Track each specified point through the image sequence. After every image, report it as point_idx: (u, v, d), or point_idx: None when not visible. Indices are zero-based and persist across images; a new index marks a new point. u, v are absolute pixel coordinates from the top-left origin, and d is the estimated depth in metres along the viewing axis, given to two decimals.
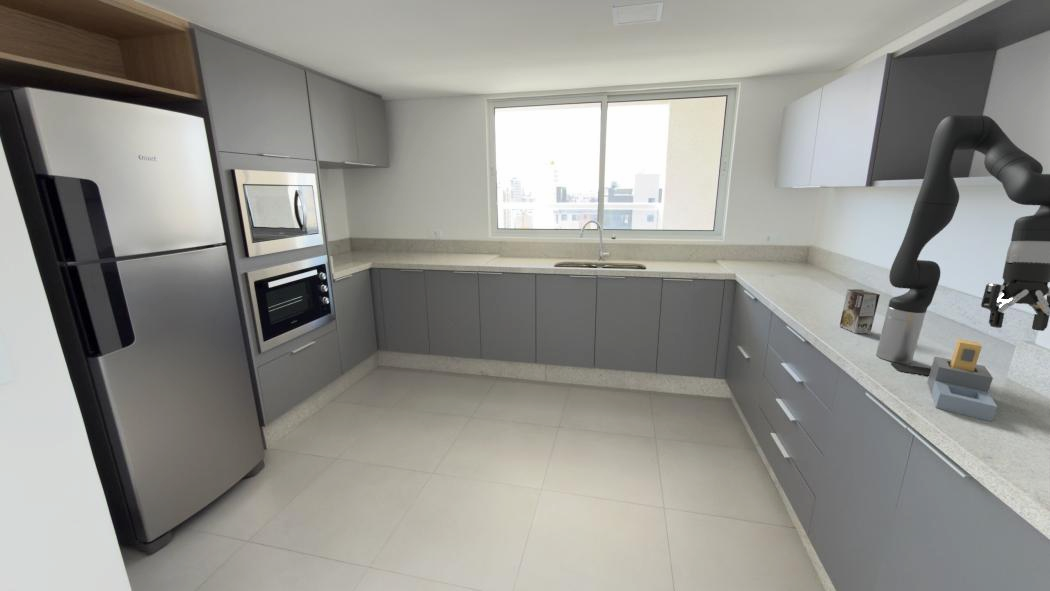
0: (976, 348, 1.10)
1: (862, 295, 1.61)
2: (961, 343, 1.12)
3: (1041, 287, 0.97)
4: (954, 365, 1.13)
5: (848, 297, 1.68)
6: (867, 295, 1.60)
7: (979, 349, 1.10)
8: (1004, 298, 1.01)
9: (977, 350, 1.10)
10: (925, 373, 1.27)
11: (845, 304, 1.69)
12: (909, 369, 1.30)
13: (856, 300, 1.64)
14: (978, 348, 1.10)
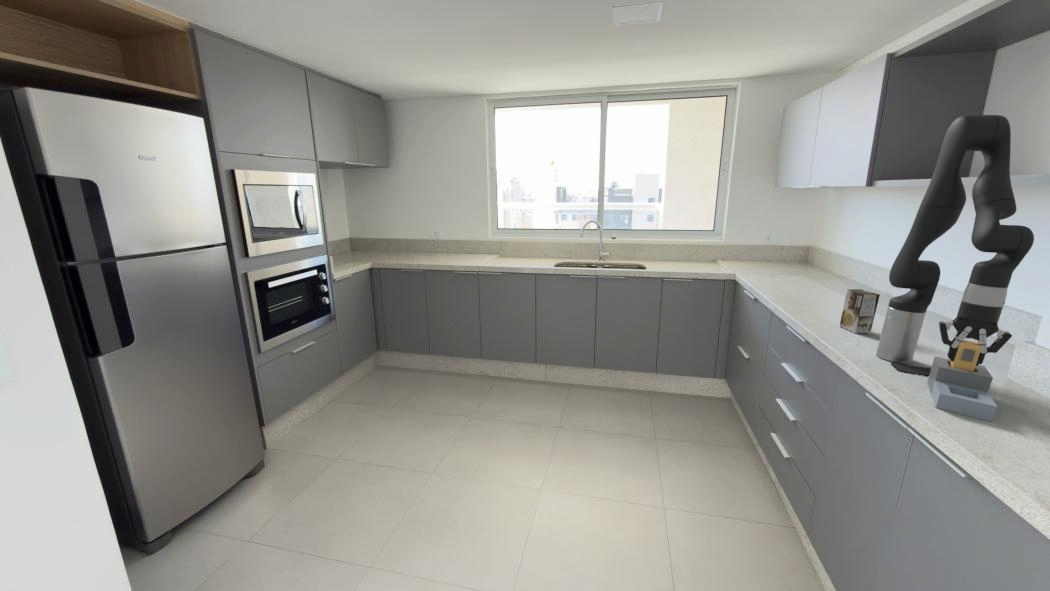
0: (976, 348, 1.10)
1: (862, 295, 1.61)
2: (961, 343, 1.12)
3: (991, 325, 1.08)
4: (954, 365, 1.13)
5: (848, 297, 1.68)
6: (867, 295, 1.60)
7: (979, 349, 1.10)
8: None
9: (977, 350, 1.10)
10: (925, 373, 1.27)
11: (845, 304, 1.69)
12: (910, 369, 1.30)
13: (856, 300, 1.64)
14: (978, 348, 1.10)
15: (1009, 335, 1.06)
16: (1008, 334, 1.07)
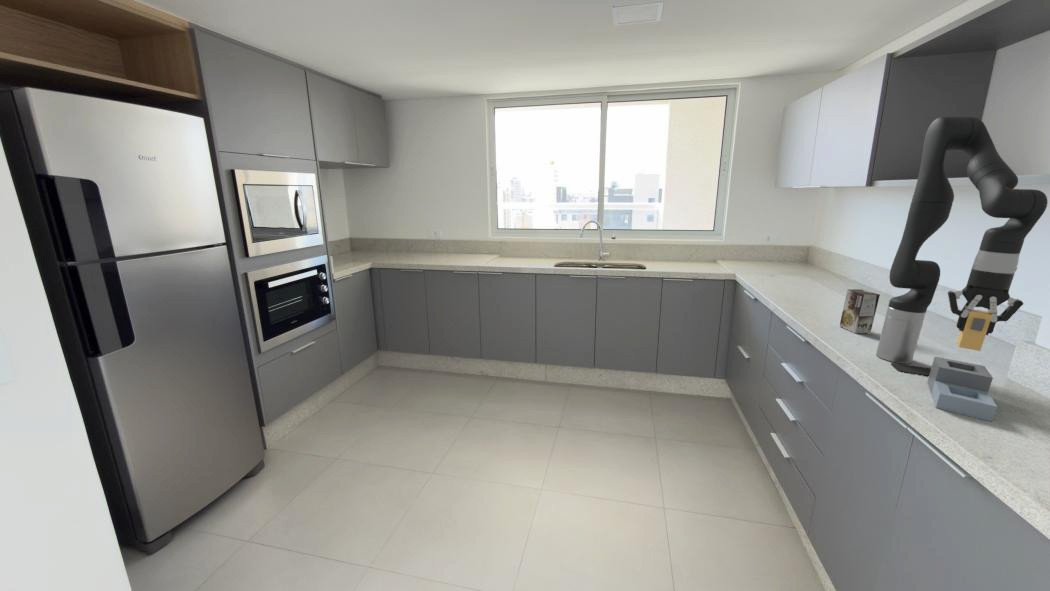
0: (986, 317, 1.08)
1: (862, 295, 1.61)
2: (971, 312, 1.10)
3: (1002, 293, 1.06)
4: (963, 335, 1.11)
5: (848, 297, 1.68)
6: (867, 295, 1.60)
7: (989, 318, 1.08)
8: None
9: (987, 319, 1.08)
10: (925, 373, 1.27)
11: (845, 304, 1.69)
12: (909, 369, 1.30)
13: (856, 300, 1.64)
14: (988, 317, 1.08)
15: (1020, 302, 1.04)
16: (1019, 301, 1.04)
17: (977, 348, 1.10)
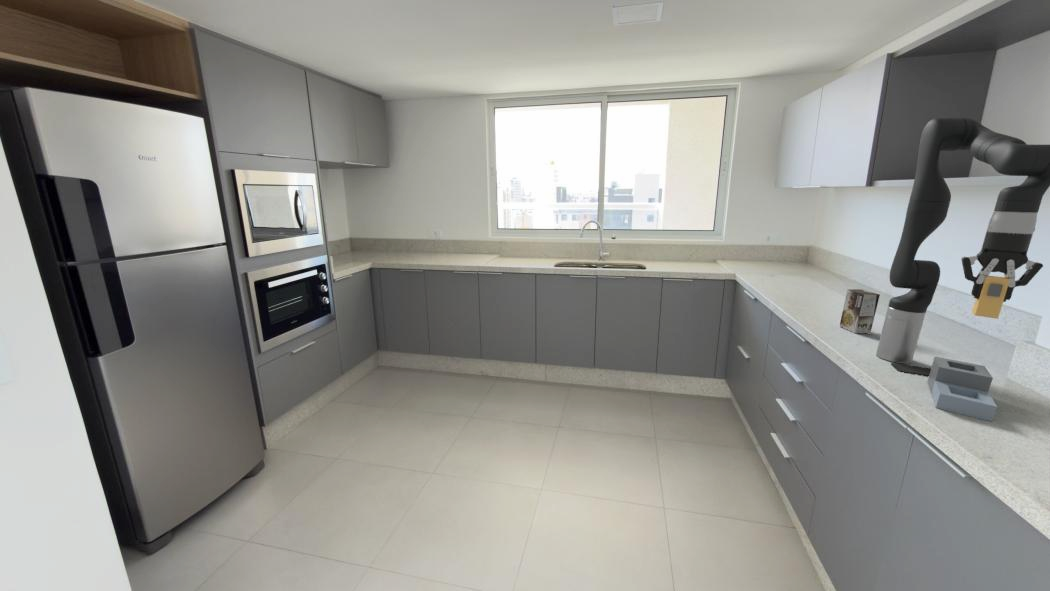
0: (1003, 281, 1.02)
1: (862, 295, 1.61)
2: (987, 277, 1.04)
3: (1019, 256, 1.00)
4: (979, 302, 1.05)
5: (848, 297, 1.68)
6: (867, 295, 1.60)
7: (1007, 282, 1.02)
8: None
9: (1005, 284, 1.02)
10: (925, 373, 1.27)
11: (845, 304, 1.69)
12: (910, 369, 1.30)
13: (856, 300, 1.64)
14: (1006, 281, 1.02)
15: (1040, 265, 0.98)
16: (1039, 264, 0.99)
17: (994, 316, 1.04)
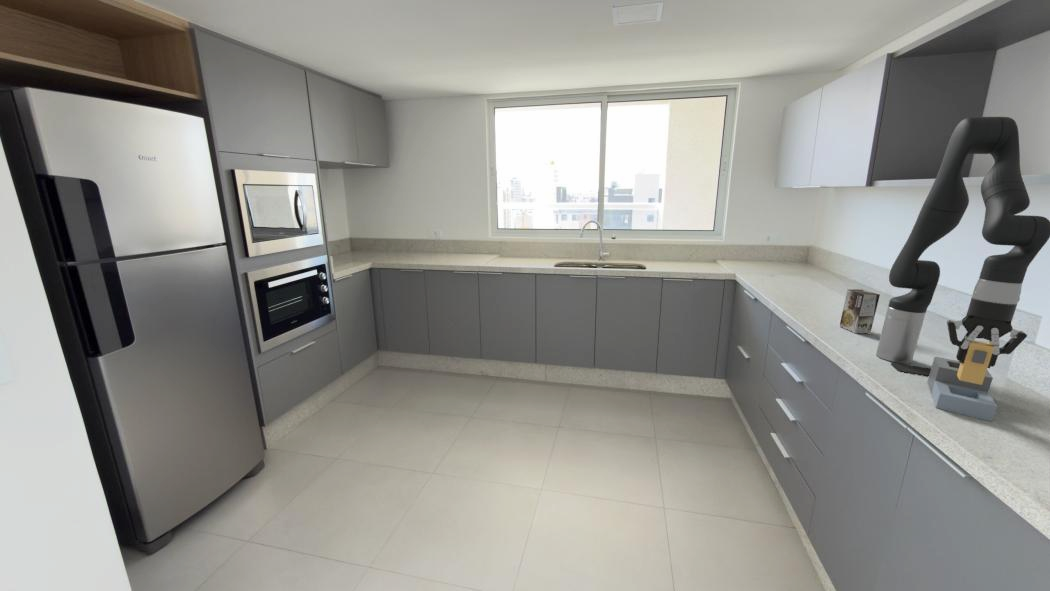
0: (988, 349, 1.02)
1: (862, 295, 1.61)
2: (971, 344, 1.03)
3: (1004, 324, 1.00)
4: (964, 367, 1.05)
5: (848, 297, 1.68)
6: (867, 295, 1.60)
7: (991, 350, 1.01)
8: None
9: (989, 351, 1.02)
10: (925, 373, 1.27)
11: (845, 304, 1.69)
12: (910, 369, 1.30)
13: (856, 300, 1.64)
14: (990, 349, 1.01)
15: (1024, 335, 0.98)
16: (1023, 334, 0.98)
17: (979, 382, 1.04)
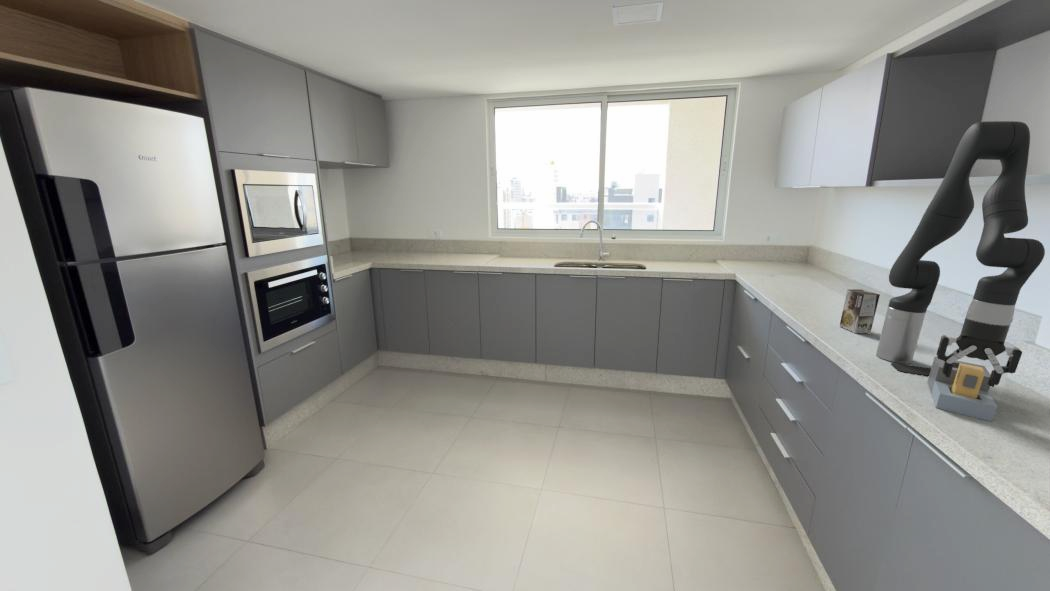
0: (979, 374, 1.04)
1: (862, 295, 1.61)
2: (963, 368, 1.05)
3: (995, 345, 1.01)
4: (955, 391, 1.07)
5: (848, 297, 1.68)
6: (867, 295, 1.60)
7: (982, 375, 1.03)
8: None
9: (980, 376, 1.03)
10: (925, 373, 1.27)
11: (845, 304, 1.69)
12: (910, 369, 1.30)
13: (856, 300, 1.64)
14: (981, 374, 1.03)
15: (1019, 351, 0.99)
16: (1017, 351, 0.99)
17: None
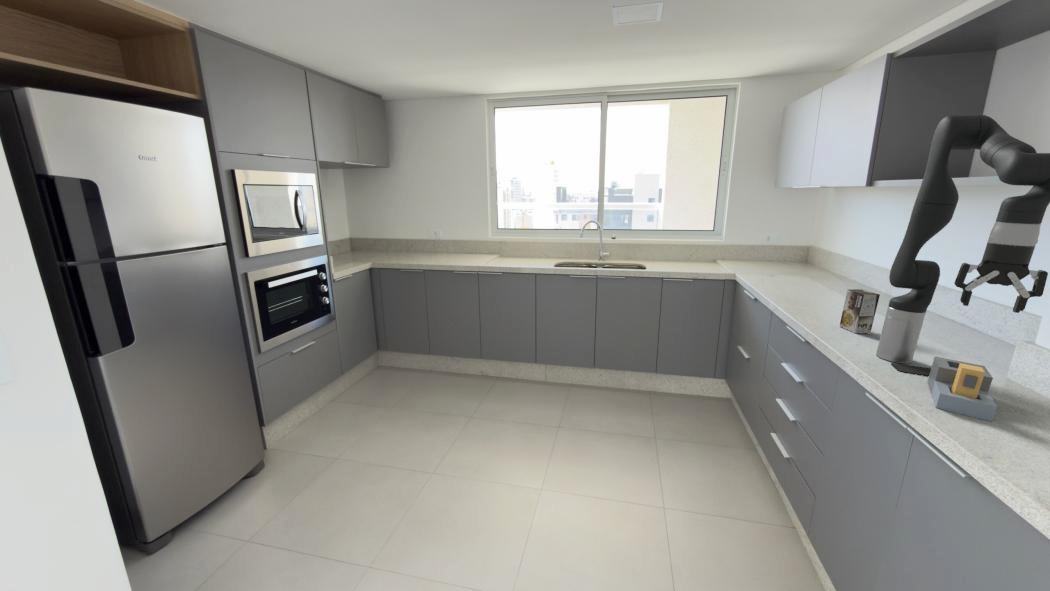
0: (979, 374, 1.04)
1: (862, 295, 1.61)
2: (963, 368, 1.05)
3: (1019, 269, 0.97)
4: (955, 391, 1.07)
5: (848, 297, 1.68)
6: (867, 295, 1.60)
7: (982, 375, 1.03)
8: None
9: (980, 376, 1.03)
10: (925, 373, 1.27)
11: (845, 304, 1.69)
12: (910, 369, 1.30)
13: (856, 300, 1.64)
14: (981, 374, 1.03)
15: (1044, 273, 0.95)
16: (1043, 272, 0.95)
17: None
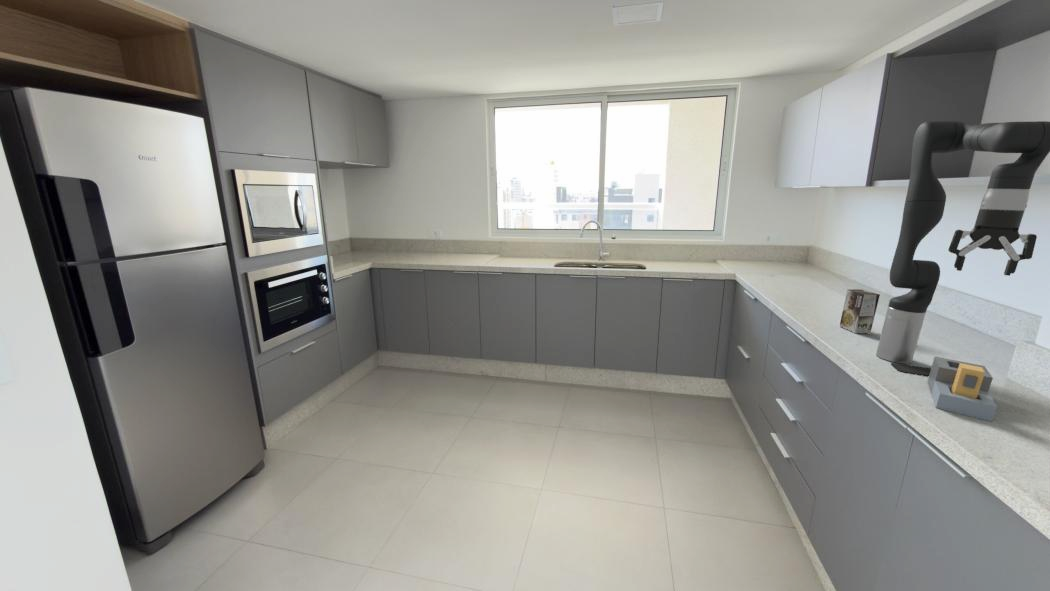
0: (979, 374, 1.04)
1: (862, 295, 1.61)
2: (963, 368, 1.05)
3: (1009, 233, 1.02)
4: (955, 391, 1.07)
5: (848, 297, 1.68)
6: (867, 295, 1.60)
7: (982, 375, 1.03)
8: None
9: (980, 376, 1.03)
10: (925, 373, 1.27)
11: (845, 304, 1.69)
12: (910, 369, 1.30)
13: (856, 300, 1.64)
14: (981, 374, 1.03)
15: (1033, 236, 1.00)
16: (1032, 235, 1.00)
17: None
